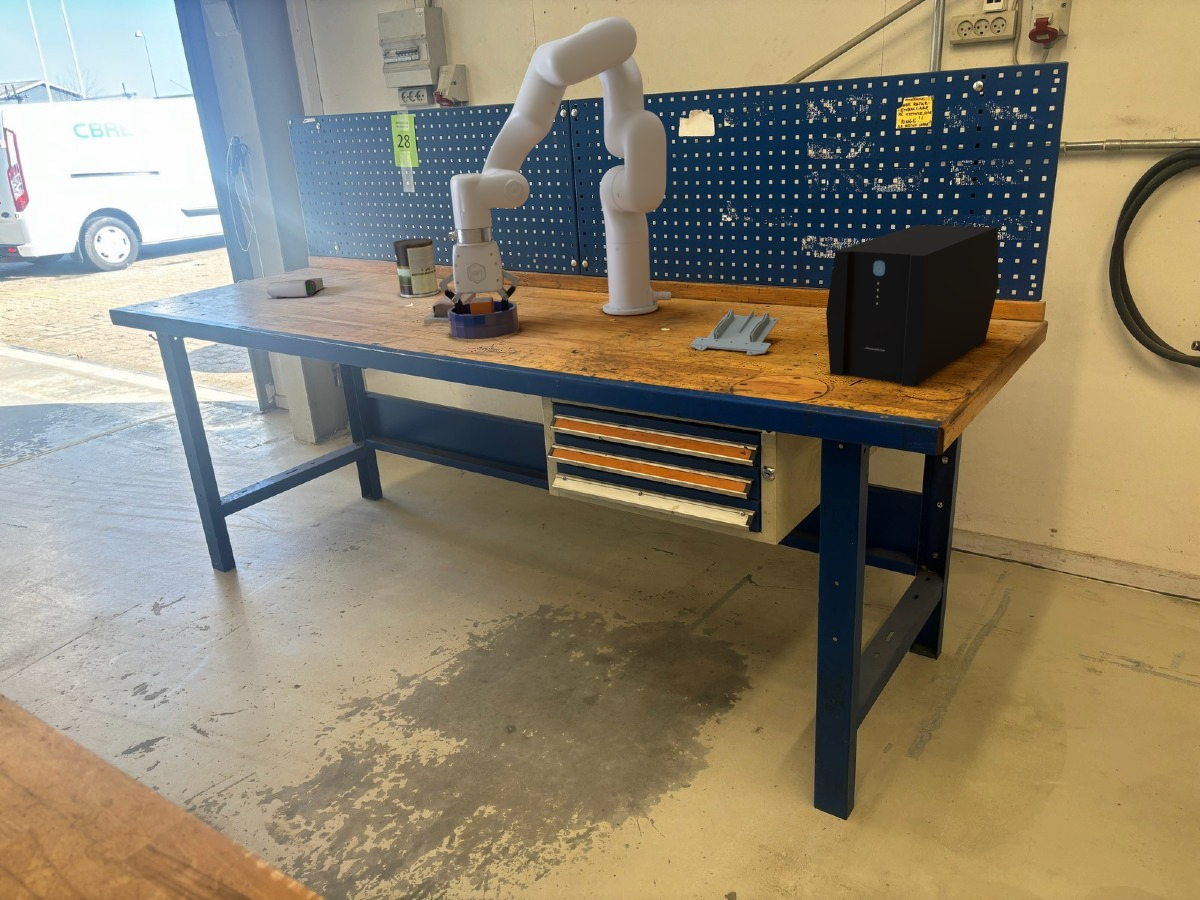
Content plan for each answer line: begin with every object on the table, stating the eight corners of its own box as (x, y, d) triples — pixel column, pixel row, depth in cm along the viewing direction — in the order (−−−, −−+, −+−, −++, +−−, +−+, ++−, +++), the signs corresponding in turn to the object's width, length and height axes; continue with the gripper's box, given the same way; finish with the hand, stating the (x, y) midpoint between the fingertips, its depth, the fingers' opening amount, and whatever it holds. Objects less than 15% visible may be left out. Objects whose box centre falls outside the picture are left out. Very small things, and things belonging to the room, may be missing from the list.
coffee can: (394, 298, 226) (386, 244, 221) (408, 290, 235) (400, 238, 230) (432, 297, 224) (424, 243, 219) (444, 289, 234) (437, 237, 229)
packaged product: (442, 289, 207) (482, 287, 206) (445, 309, 209) (484, 307, 208) (420, 304, 191) (464, 303, 189) (423, 325, 192) (466, 324, 191)
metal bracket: (717, 303, 168) (790, 308, 160) (720, 329, 171) (792, 335, 164) (686, 340, 159) (762, 346, 151) (690, 366, 162) (765, 374, 155)
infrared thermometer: (327, 290, 249) (310, 297, 235) (286, 292, 249) (267, 299, 235) (325, 274, 248) (307, 280, 233) (284, 276, 248) (264, 282, 234)
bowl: (521, 323, 189) (519, 298, 187) (516, 339, 176) (514, 312, 174) (456, 327, 189) (452, 302, 187) (446, 343, 176) (443, 317, 174)
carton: (496, 326, 184) (493, 296, 182) (494, 332, 180) (490, 300, 177) (476, 328, 185) (472, 297, 182) (473, 333, 180) (469, 302, 177)
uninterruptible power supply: (823, 372, 141) (828, 250, 134) (906, 329, 164) (914, 223, 157) (921, 387, 131) (932, 256, 124) (995, 339, 154) (1008, 225, 147)
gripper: (429, 241, 172) (440, 325, 178) (515, 236, 172) (522, 320, 178) (435, 236, 178) (445, 317, 185) (517, 231, 179) (525, 313, 185)
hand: (483, 319), depth 181 cm, fingers open, 8 cm apart
